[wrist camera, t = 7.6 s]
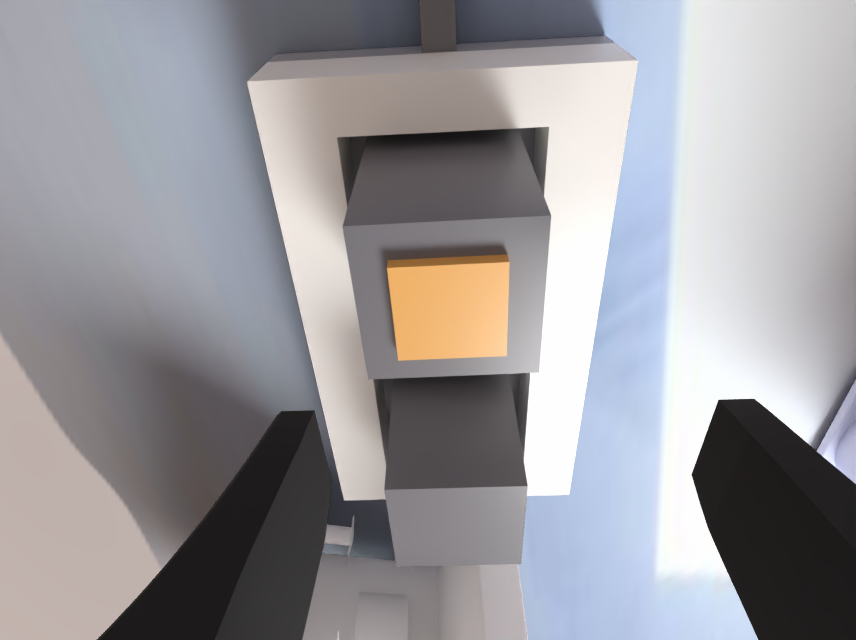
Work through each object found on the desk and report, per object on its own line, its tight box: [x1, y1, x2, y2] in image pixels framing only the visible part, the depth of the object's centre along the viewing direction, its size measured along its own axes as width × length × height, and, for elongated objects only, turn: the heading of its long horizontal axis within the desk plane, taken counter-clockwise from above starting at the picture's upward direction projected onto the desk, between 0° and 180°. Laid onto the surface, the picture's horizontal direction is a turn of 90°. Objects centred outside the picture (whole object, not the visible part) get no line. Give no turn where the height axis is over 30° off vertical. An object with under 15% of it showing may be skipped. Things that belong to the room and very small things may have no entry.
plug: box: [342, 128, 551, 379], centre depth 14 cm, size 4×4×6 cm
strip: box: [247, 0, 638, 567], centre depth 15 cm, size 22×9×7 cm, turn 3°
